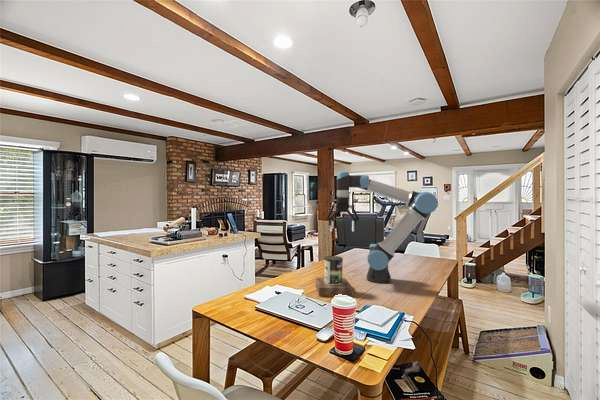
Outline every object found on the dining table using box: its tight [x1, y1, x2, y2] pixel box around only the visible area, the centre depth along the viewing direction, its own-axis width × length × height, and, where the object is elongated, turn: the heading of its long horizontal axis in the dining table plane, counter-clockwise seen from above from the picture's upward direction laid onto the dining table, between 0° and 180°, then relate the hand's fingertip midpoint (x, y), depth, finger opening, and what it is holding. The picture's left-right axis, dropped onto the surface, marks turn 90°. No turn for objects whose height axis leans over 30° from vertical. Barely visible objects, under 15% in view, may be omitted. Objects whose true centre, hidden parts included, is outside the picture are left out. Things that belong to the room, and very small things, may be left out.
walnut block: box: [314, 277, 353, 297], centre depth 158 cm, size 18×18×4 cm
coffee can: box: [323, 255, 344, 285], centre depth 158 cm, size 10×10×14 cm
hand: (342, 231), depth 175 cm, fingers open, 13 cm apart
